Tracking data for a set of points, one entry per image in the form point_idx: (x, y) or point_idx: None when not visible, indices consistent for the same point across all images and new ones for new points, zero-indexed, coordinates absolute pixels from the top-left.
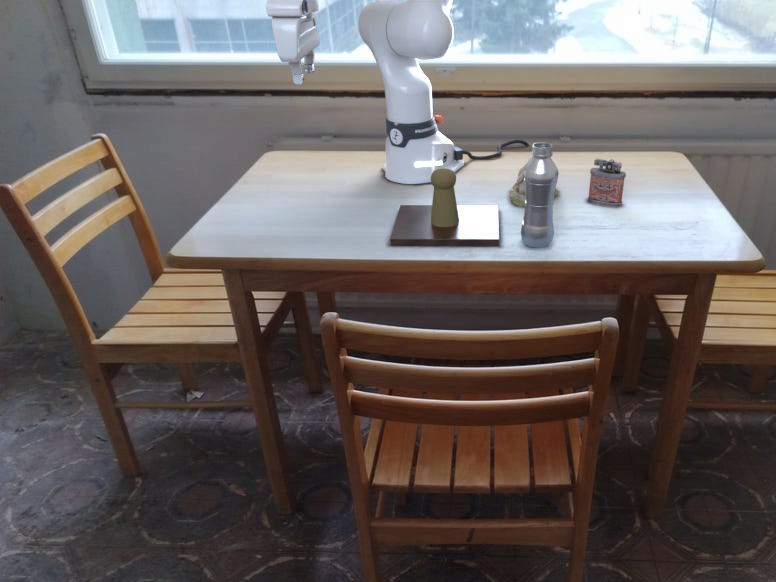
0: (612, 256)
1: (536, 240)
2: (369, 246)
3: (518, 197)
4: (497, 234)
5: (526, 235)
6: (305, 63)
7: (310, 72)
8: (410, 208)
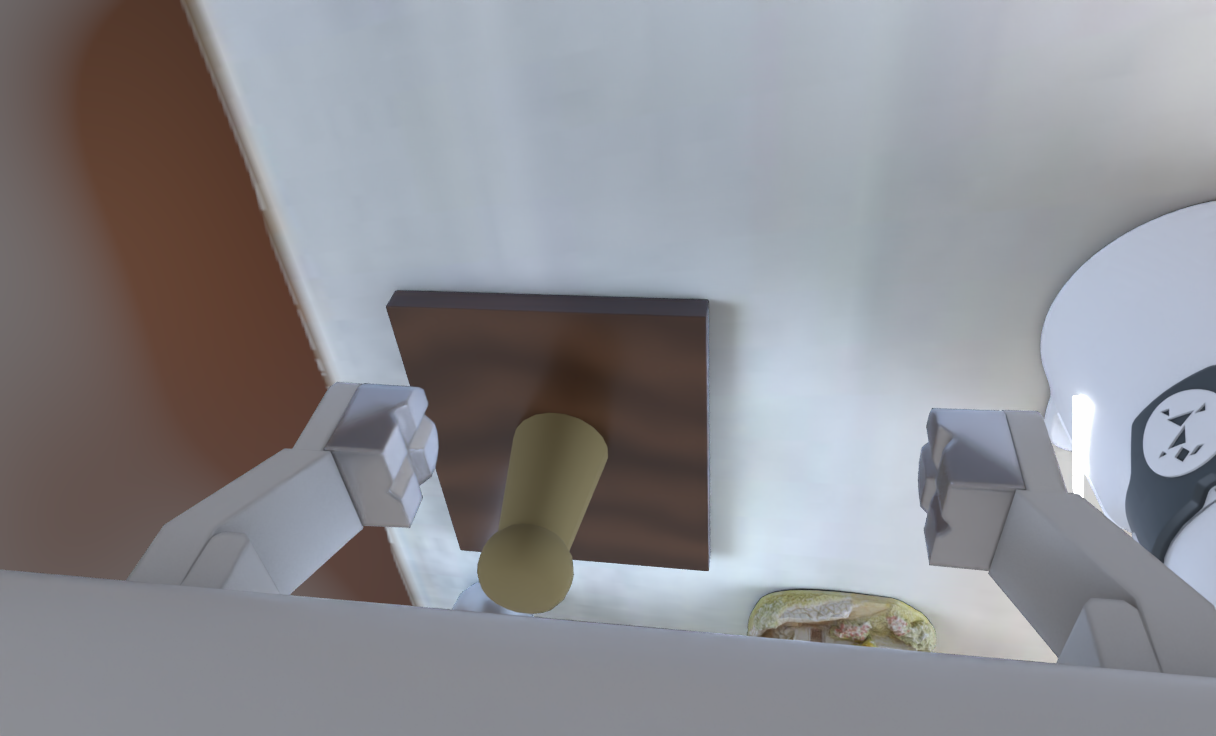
0: None
1: None
2: (373, 225)
3: (755, 621)
4: None
5: (456, 607)
6: (1018, 504)
7: (925, 464)
8: (669, 352)
